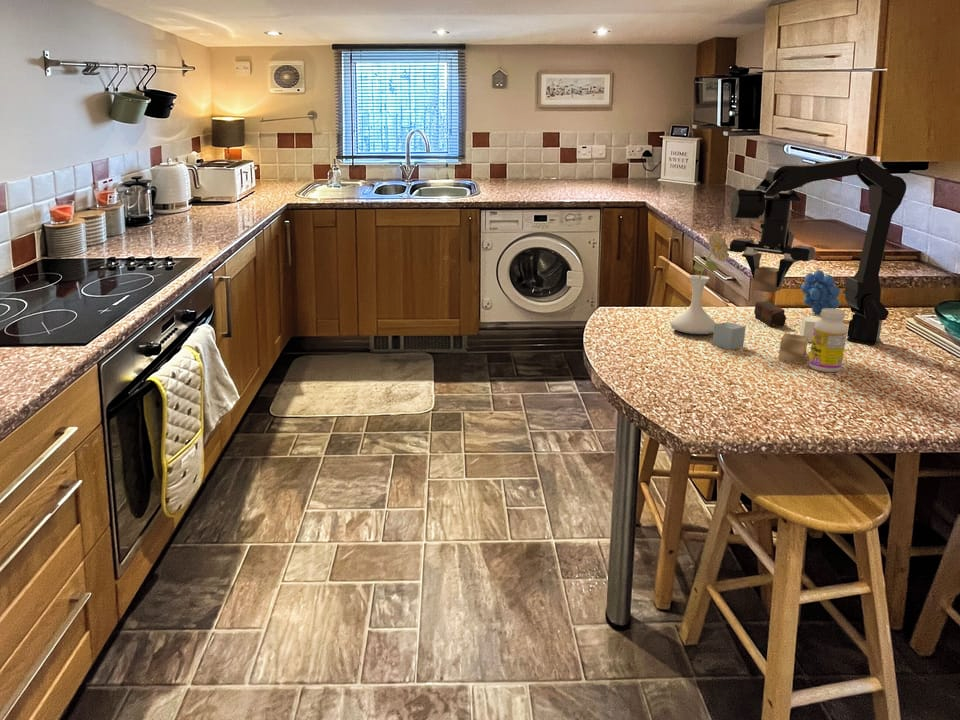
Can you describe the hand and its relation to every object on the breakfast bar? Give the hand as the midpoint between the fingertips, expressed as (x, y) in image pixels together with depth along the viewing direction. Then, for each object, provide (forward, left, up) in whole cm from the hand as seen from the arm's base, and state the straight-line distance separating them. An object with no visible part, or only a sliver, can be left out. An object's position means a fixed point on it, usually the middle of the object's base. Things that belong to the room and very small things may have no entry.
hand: (767, 285), depth 210 cm
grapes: (-2, -37, -13) cm, 39 cm away
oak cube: (-12, +13, -13) cm, 22 cm away
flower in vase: (+14, +6, -13) cm, 20 cm away
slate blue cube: (+3, +13, -13) cm, 19 cm away
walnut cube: (0, 0, -1) cm, 1 cm away
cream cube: (-10, -8, -13) cm, 18 cm away
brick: (+4, -18, -13) cm, 23 cm away
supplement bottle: (-20, +16, -13) cm, 29 cm away
